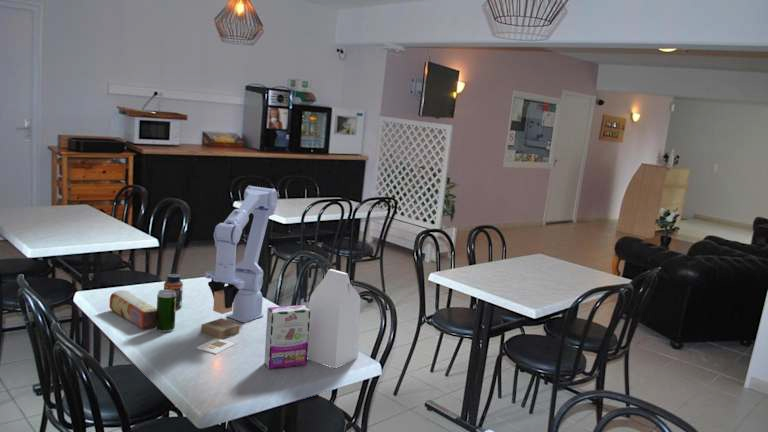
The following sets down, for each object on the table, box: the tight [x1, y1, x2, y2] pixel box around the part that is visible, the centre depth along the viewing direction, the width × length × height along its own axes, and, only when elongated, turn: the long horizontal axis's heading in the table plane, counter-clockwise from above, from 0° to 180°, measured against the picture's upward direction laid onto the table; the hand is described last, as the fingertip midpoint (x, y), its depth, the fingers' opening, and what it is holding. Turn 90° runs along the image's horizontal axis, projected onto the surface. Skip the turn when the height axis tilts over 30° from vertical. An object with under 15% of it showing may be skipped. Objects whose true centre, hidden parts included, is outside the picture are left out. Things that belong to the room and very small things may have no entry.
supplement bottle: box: [163, 273, 184, 311], centre depth 203 cm, size 6×6×11 cm
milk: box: [307, 268, 361, 369], centre depth 176 cm, size 12×12×26 cm
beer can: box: [155, 288, 176, 333], centre depth 184 cm, size 5×5×12 cm
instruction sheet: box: [195, 338, 236, 355], centre depth 177 cm, size 9×7×1 cm
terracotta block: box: [212, 290, 233, 315], centre depth 185 cm, size 4×4×6 cm
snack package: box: [109, 289, 157, 330], centre depth 191 cm, size 21×7×7 cm, turn 49°
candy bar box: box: [264, 304, 310, 370], centre depth 169 cm, size 11×5×16 cm, turn 117°
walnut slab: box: [200, 318, 240, 340], centre depth 187 cm, size 8×8×3 cm
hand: (223, 305), depth 185 cm, fingers closed on terracotta block, 4 cm apart
